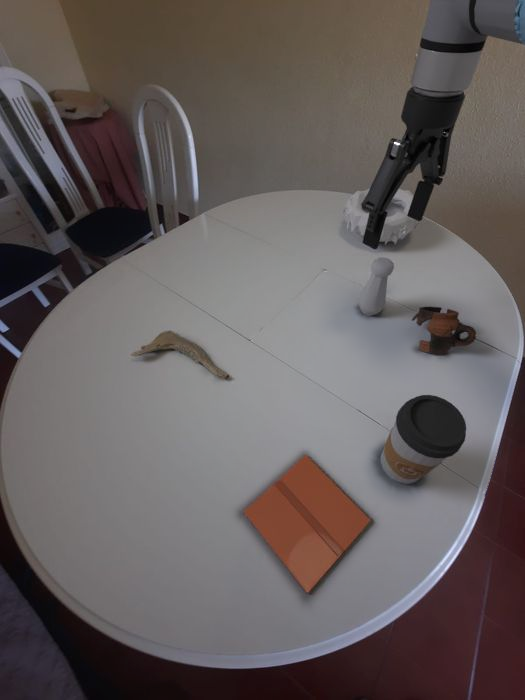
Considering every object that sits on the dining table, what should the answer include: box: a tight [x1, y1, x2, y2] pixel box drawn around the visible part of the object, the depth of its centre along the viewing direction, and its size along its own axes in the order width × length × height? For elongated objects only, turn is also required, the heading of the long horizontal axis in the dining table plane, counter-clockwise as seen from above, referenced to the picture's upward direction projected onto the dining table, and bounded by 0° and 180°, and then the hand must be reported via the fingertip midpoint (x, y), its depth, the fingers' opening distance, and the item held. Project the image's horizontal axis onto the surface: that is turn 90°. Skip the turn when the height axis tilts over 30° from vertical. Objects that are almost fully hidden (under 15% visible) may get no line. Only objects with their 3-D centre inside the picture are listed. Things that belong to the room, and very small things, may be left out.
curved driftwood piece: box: [130, 330, 230, 380], centre depth 69 cm, size 9×20×2 cm, turn 75°
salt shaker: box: [357, 256, 395, 317], centre depth 72 cm, size 6×6×13 cm
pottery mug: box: [411, 306, 477, 355], centre depth 69 cm, size 12×10×8 cm
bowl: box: [342, 188, 420, 246], centre depth 93 cm, size 21×20×10 cm
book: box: [243, 454, 372, 594], centre depth 49 cm, size 13×13×1 cm
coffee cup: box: [380, 394, 467, 485], centre depth 48 cm, size 8×8×15 cm
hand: (392, 231), depth 62 cm, fingers open, 13 cm apart
